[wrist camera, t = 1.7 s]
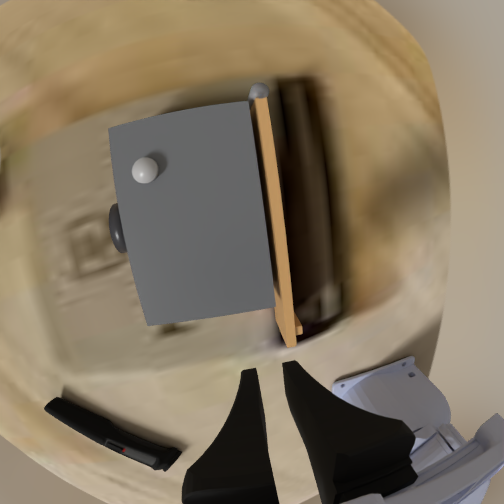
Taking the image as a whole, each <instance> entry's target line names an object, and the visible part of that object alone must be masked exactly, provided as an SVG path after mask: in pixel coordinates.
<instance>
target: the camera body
mask: <svg viewBox="0 0 504 504" xmlns="http://www.w3.org/2000/svg"><path fill="white" fill-rule="evenodd" d="M108 130H109V141H110V151H111V160H112V168H113V176H114V183H115V189H116V196H117V202H118V203H116V204H113V205H112V207H111V209H110V213H109V228H110V234H111V238H112V241H113V243H114V245H115V247H116V249H117V250H118V251H119V252H120V253H126V252H128V256H129V261H130V265H131V269H132V273H133V277H134V281H135V284H136V288H137V292H138V295H139V299H140V302H141V306H142V309H143V313H144V316H145V319H146V322H147V325H148V326H151V325H160V324H168V323H176V322H184V321H191V320H198V319H205V318H212V317H218V316H225V315H231V314H237V313H243V312H249V311H255V310H261V309H266V308H272V307H276V302H275V293H274V285H273V277H272V269H271V261H270V253H269V245H268V237H267V230H266V222H265V214H264V207H263V200H262V192H261V185H260V178H259V171H258V163H257V156H256V150H255V143H254V136H253V129H252V122H251V116H250V109H249V102H248V101H241V102H232V103H224V104H217V105H210V106H204V107H198V108H192V109H186V110H181V111H176V112H171V113H166V114H162V115H157V116H153V117H149V118H144V119H140V120H137V121H133V122H129V123H125V124H122V125H118V126H115V127H111V128H108Z"/></svg>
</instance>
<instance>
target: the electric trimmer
mask: <svg viewBox="0 0 504 504" xmlns="http://www.w3.org/2000/svg"><path fill="white" fill-rule="evenodd" d="M44 409H45V411H46V412H48V413H49V414H51V415H52V416H54V417H55V418H57V419H58V420H60V421H61V422H63V423H64V424H66V425H68V426H69V427H71V428H73V429H74V430H76V431H78V432H79V433H81V434H83V435H85V436H86V437H88V438H90V439H92V440H93V441H95V442H97V443H99V444H101V445H103V446H105V447H107V448H109V449H111V450H113V451H115V452H117V453H119V454H122V455H124V456H126V457H128V458H131V459H133V460H135V461H138V462H140V463H143V464H145V465H147V466H150V467H152V468H153V469H154V470H161V469H163V471H164V472H166V471H167V470H168V469H169V468H170V467H171V466H172V465H173V463H174V462H175V461H176V460H177V459H178V458H179V456H180V455H181V453H182V452H180V451H178V450H177V448H175V447H174V448H172V449H166V448H163V447H160V446H157V445H155V444H152V443H150V442H147V441H145V440H142V439H140V438H137V437H135V436H133V435H130V434H128V433H126V432H124V431H121V430H119V429H117V428H115V427H114V426H113V425H112V424H111V422H110V421H109V420H107V419H105V418H102V417H100V416H98V415H96V414H93V413H91V412H89V411H87V410H84V409H82V408H80V407H78V406H76V405H74V404H72V403H70V402H68V401H66V400H64V399H62V398H59V397H56V398H54V399H53V400H51V401H50V402H49V403H48V404H47V405H46V406H45V408H44Z"/></svg>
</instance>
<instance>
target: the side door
mask: <svg viewBox="0 0 504 504" xmlns="http://www.w3.org/2000/svg"><path fill="white" fill-rule="evenodd" d="M268 94H269V88H268V87H267V85H265V84H264V83H256V84H254V85H253V86H252V87H251V90H250V93H249V96H248V99H247V101H248V102H249V109H250V116H251V122H252V129H253V136H254V143H255V150H256V156H257V163H258V171H259V178H260V185H261V192H262V200H263V207H264V214H265V222H266V230H267V237H268V245H269V253H270V261H271V269H272V277H273V285H274V293H275V302H276V307H274V308H275V316H276V321H277V324H278V326H279V329H280V331H281V333H282V336H283V338H284V341H285V343H286V345H287V348H289V347H293V346H296V335H299V334H302V325H301V323H300V322H299V320H298V318H297V316H296V315H295V313H294V310H293V299H292V289H291V279H290V269H289V259H288V250H287V241H286V232H285V224H284V216H283V207H282V200H281V192H280V184H279V177H278V169H277V162H276V155H275V148H274V141H273V135H272V128H271V121H270V115H269V109H268V103H267V96H268Z"/></svg>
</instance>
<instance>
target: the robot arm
mask: <svg viewBox="0 0 504 504" xmlns="http://www.w3.org/2000/svg"><path fill="white" fill-rule="evenodd" d="M414 361H415V358H414V357H413V356H409V357H407V358H404V359H402V360H399V361H396V362H394V363H391V364H388V365H386V366H383V367H380V368H377V369H374V370H371V371H368V372H365V373H362V374H359V375H356V376H353V377H350V378H346V379H343V380H339V381H336V382H335V383H333V385H332V392H330V391H329V390H328V389H326V388H325V387H324V386H322V385H321V384H320V383H319V382H317V381H316V380H315V379H314V378H313V377H312V376H311V375H310V374H308V373H307V372H306V371H305V370H304V369H303V368H302V366H301V365H300V364H299V363H298V362H297V361H295V360H294V361H289V362H284V363H282V366H283V375H284V384H285V394H286V397H287V401H288V405H289V408H290V411H291V414H292V416H293V418H294V421H295V423H296V425H297V428H298V430H299V432H300V435H301V437H302V439H303V442H304V444H305V447H306V449H307V452H308V456H309V459H310V462H311V466H312V469H313V473H314V476H315V480H316V483H317V487H318V491H319V494H320V498H321V502H322V504H481V502H482V500H483V498H484V496H485V494H486V491H487V489H488V486H489V484H490V478H491V477H493V476H494V475H495V474H496V473H497V472H498V471H499V470H500V469H501V468H502V467H503V466H504V419H503V418H502V417H501V416H500V415H499V414H498V413H496V414H495V415H493V416H492V417H491V418H490V419H488V420H487V421H486V422H485V423H483V424H482V425H481V426H480V428H479V429H478V430H477V432H476V434H475V436H474V437H473V438H472V439H471V440H469V441H468V442H466V441H465V439H464V438H463V437H462V436H461V435H460V433H459V432H458V431H457V430H456V429H455V428H454V427H453V425H452V424H450V419H451V412H450V408H449V405H448V402H447V400H446V398H445V396H444V395H443V394H442V392H441V391H440V390H439V389H438V388H437V387H436V386H435V385H434V384H433V383H432V382H431V381H430V380H429V379H428V378H427V377H426V376H425V375H424V374H423V373H422V372H421V371H420V370H419V369H418V368H417V367H416V366H415V365H414ZM342 384H343V385H342ZM182 503H183V504H279V500H278V495H277V491H276V486H275V481H274V477H273V472H272V468H271V463H270V458H269V453H268V443H267V433H266V422H265V413H264V408H263V402H262V397H261V391H260V385H259V380H258V375H257V370H256V368H253V369H247V370H243V371H242V372H241V379H240V384H239V389H238V392H237V395H236V399H235V401H234V404H233V407H232V409H231V411H230V414H229V416H228V418H227V420H226V422H225V424H224V426H223V427H222V429H221V431H220V432H219V434H218V435H217V437H216V438H215V440H214V441H213V443H212V444H211V445H210V446H209V448H208V449H207V450H206V451H205V452H204V454H203V455H202V456H201V457H200V458H199V459H198V460H197V461H196V462H195V463H194V464H193V465H192V466H191V467H190V468H189V469H187V472H186V475H185V478H184V482H183V486H182Z"/></svg>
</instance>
